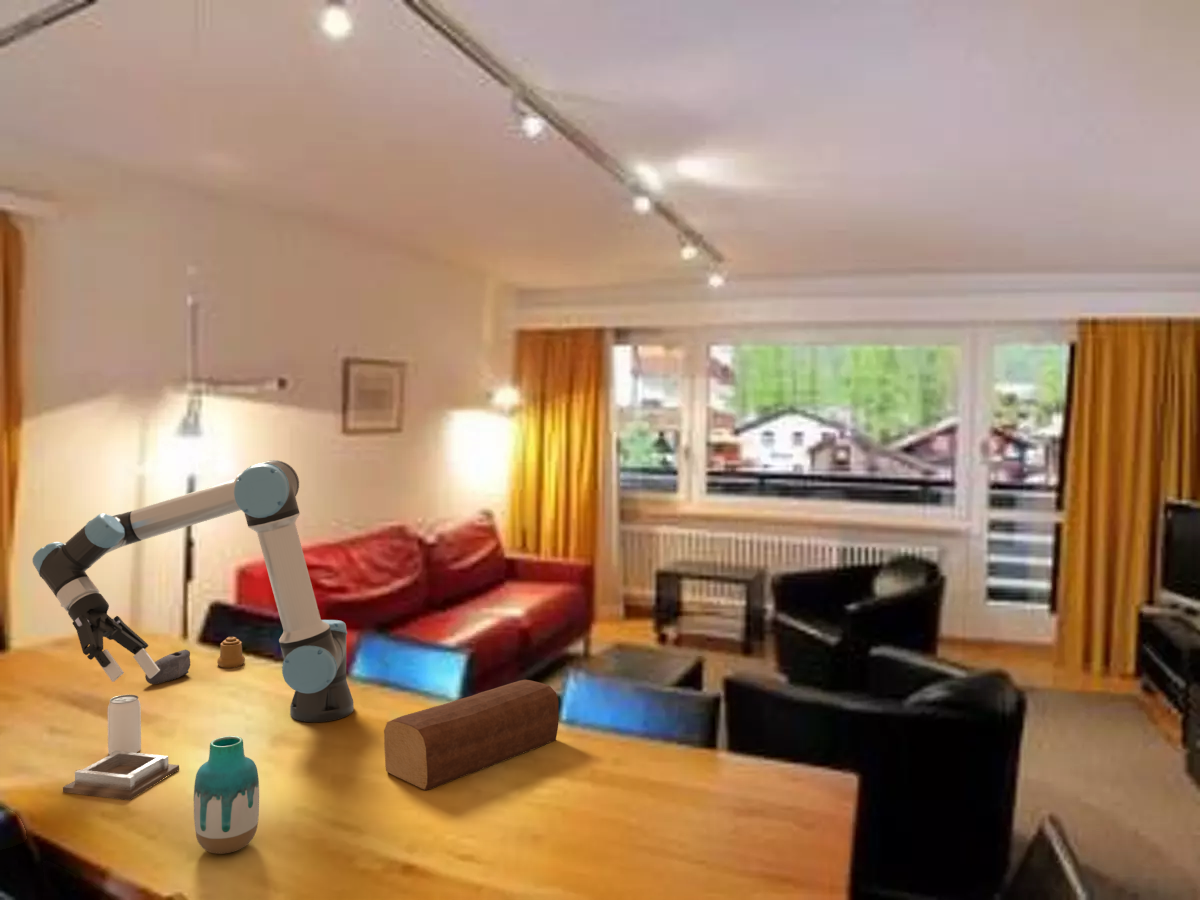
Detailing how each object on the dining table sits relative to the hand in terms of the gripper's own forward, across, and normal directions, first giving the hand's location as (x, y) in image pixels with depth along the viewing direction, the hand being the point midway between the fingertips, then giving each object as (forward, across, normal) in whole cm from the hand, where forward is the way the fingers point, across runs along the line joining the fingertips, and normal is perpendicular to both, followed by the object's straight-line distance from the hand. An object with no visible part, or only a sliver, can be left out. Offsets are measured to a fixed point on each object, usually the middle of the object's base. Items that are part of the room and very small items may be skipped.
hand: (137, 675), depth 202 cm
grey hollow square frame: (+18, +8, -10) cm, 22 cm away
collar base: (+18, +8, -10) cm, 22 cm away
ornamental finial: (-9, -68, -10) cm, 69 cm away
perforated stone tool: (-13, -52, -20) cm, 57 cm away
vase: (+47, +31, +10) cm, 57 cm away
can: (+10, -5, -14) cm, 18 cm away
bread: (+62, -14, +42) cm, 76 cm away
